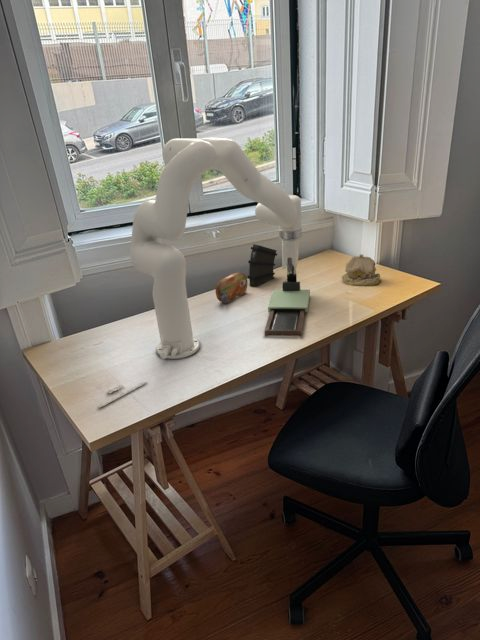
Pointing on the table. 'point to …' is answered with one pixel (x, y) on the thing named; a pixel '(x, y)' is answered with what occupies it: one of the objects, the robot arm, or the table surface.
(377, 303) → the table surface
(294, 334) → the tray
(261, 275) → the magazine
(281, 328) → the panel
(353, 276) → the ceramic model
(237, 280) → the tin
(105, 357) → the table surface
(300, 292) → the lid
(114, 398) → the picture light
